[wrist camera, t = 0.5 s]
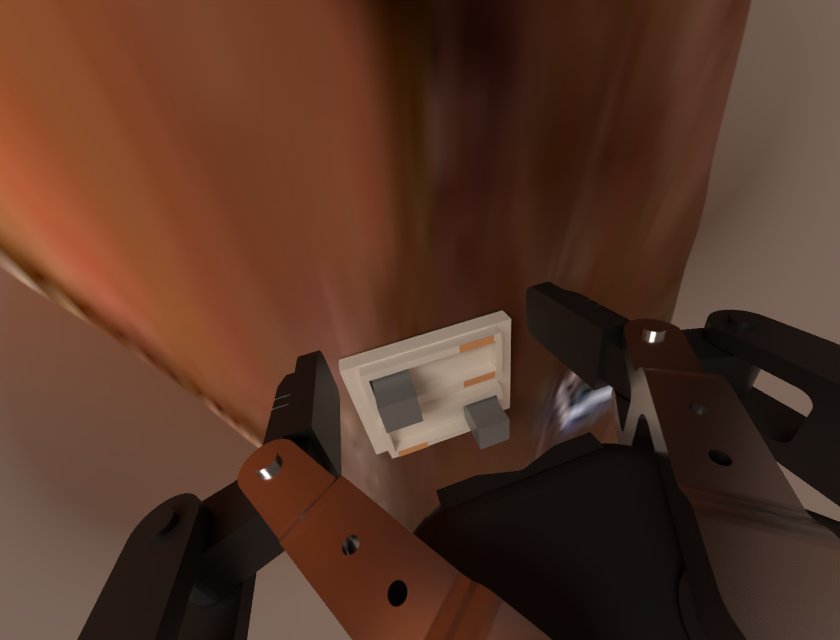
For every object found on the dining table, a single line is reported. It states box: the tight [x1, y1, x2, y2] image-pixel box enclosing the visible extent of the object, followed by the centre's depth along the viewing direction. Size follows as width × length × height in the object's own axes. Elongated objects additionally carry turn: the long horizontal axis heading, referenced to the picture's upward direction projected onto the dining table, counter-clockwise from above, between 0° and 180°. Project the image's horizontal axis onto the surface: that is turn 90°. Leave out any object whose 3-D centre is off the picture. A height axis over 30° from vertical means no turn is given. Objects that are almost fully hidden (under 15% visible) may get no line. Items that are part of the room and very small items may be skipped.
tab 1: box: [372, 369, 423, 433], centre depth 32 cm, size 4×4×5 cm
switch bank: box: [339, 310, 511, 458], centre depth 37 cm, size 16×20×4 cm
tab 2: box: [463, 396, 509, 449], centre depth 38 cm, size 4×4×5 cm
